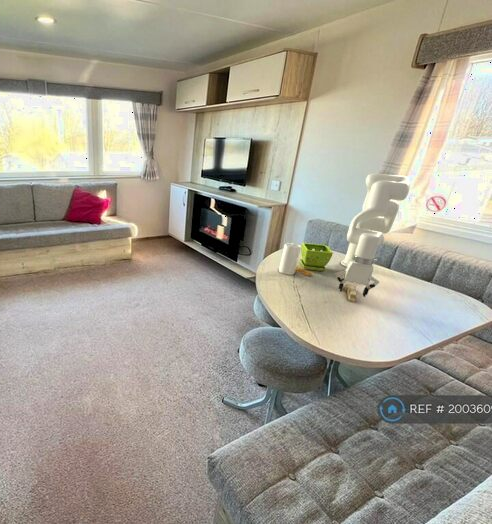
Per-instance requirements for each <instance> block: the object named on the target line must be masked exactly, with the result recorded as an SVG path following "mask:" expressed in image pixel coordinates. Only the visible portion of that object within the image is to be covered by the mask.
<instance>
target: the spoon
mask: <svg viewBox="0 0 492 524" xmlns="http://www.w3.org/2000/svg"><path fill="white" fill-rule="evenodd" d="M343 290H344V292H346V293H347V294H346V295H347V299H348V301H349V302H352V303H355V302H356V300H357V296H358V294H357V286H355V285H353V284H349V283H347V284H344V286H343Z"/></svg>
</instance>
